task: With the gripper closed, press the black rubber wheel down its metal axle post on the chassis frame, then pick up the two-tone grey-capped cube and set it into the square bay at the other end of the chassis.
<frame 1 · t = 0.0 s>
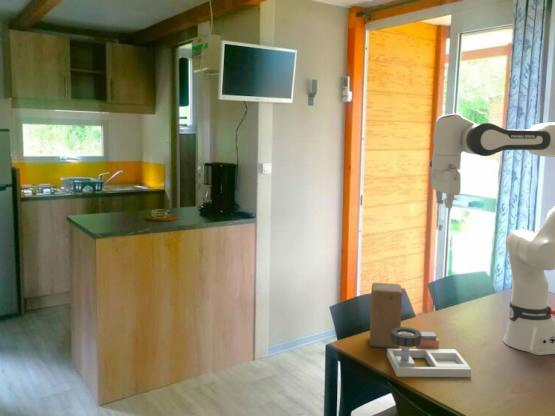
hand: (443, 205, 173), 48 cm above the table, fingers open, 8 cm apart
wheel: (405, 336, 161), point 10 cm above the table, slide at 3.5 cm
chassis: (427, 366, 162), on the table
wooden block: (384, 343, 180), on the table
two-tone grey-capped cube: (426, 351, 173), on the table
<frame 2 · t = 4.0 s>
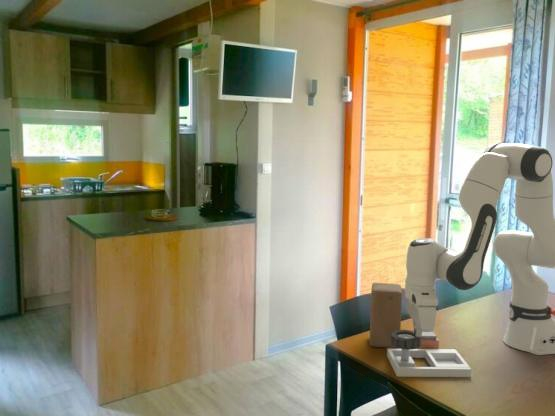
hand: (417, 335, 161), 10 cm above the table, fingers closed
wheel: (405, 339, 161), point 9 cm above the table, slide at 2.7 cm, touching gripper
everything else where it was.
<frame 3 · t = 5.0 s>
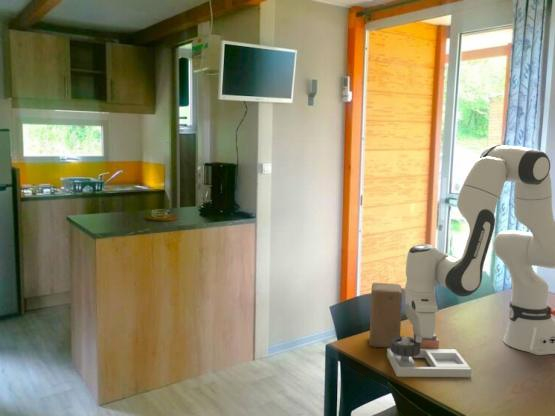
hand: (417, 340, 161), 8 cm above the table, fingers closed
wheel: (405, 346, 162), point 6 cm above the table, slide at 0.4 cm
everything else where it was.
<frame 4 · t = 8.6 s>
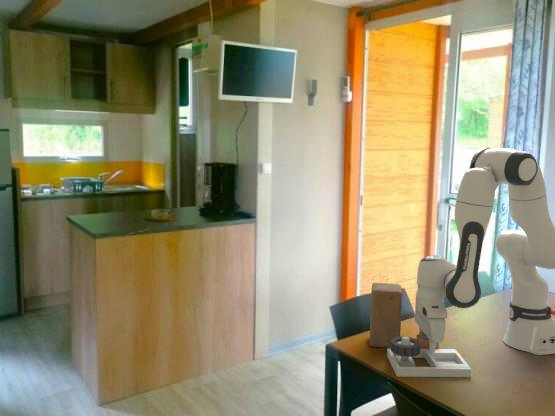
hand: (427, 345, 172), 3 cm above the table, fingers open, 8 cm apart
nothing on the table moved.
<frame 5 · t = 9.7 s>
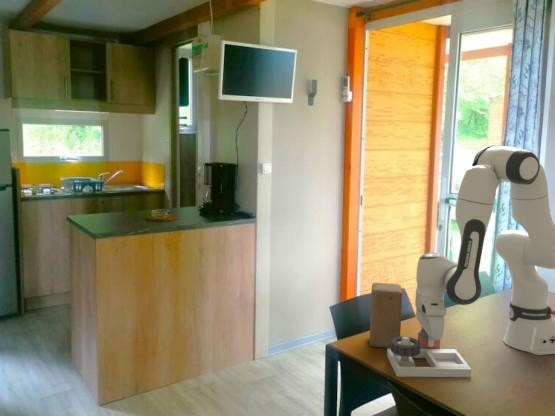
hand: (427, 341, 173), 3 cm above the table, fingers closed on two-tone grey-capped cube, 5 cm apart
two-tone grey-capped cube: (428, 349, 174), on the table, touching gripper
everything else where it was.
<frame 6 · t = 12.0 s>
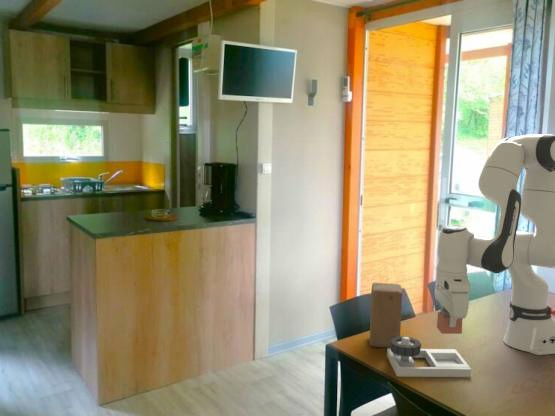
hand: (448, 322, 160), 14 cm above the table, fingers closed on two-tone grey-capped cube, 5 cm apart
two-tone grey-capped cube: (449, 330, 161), point 12 cm above the table, touching gripper
everything else where it was.
when the fingers open (4 cm above the table, at t = 14.1 s): two-tone grey-capped cube stays where it is, resting on chassis.
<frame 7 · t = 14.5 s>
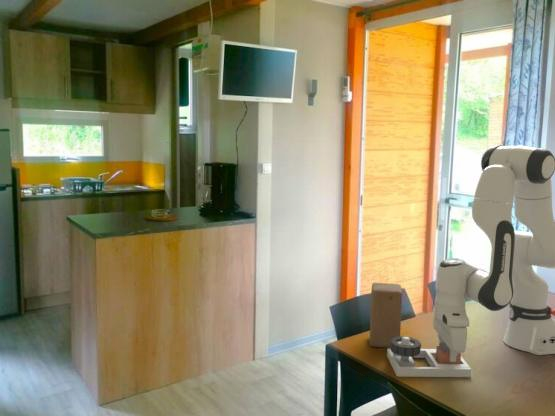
hand: (447, 354, 162), 4 cm above the table, fingers open, 8 cm apart
two-tone grey-capped cube: (447, 364, 162), resting on chassis
everything else where it was.
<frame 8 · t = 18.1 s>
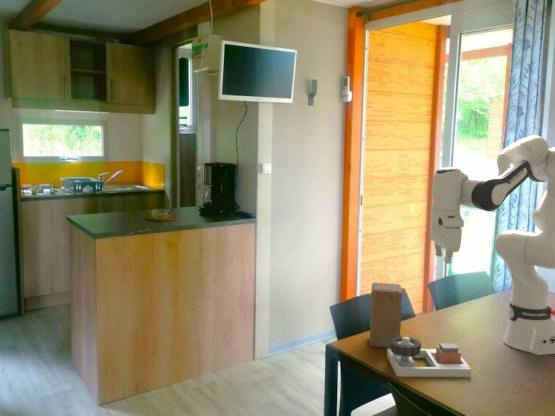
hand: (442, 259, 170), 31 cm above the table, fingers open, 8 cm apart
nothing on the table moved.
at the end: two-tone grey-capped cube 0.4 cm from the target spot on the chassis, point 0.5 cm above the chassis's base; two-tone grey-capped cube tilted 0°; wheel slide at 0.4 cm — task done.
